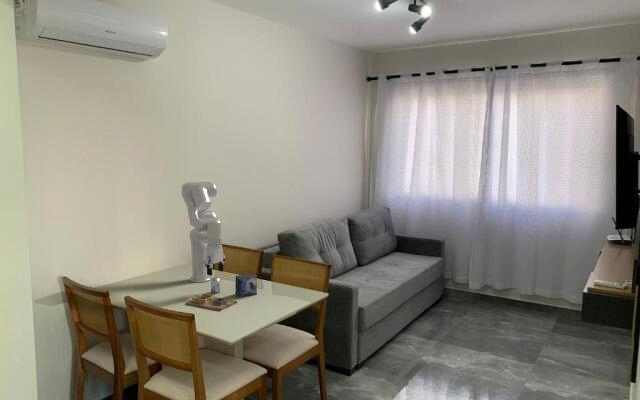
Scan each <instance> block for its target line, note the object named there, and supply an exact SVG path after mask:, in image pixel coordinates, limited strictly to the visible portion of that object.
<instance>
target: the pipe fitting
mask: <svg viewBox="0 0 640 400" xmlns="http://www.w3.org/2000/svg"><path fill="white" fill-rule="evenodd" d="M220 293H221V278H220V277H218V276H217V277H216V276H213V277H211V280H210V294H211V295H218V294H220Z"/></svg>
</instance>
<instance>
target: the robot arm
mask: <svg viewBox="0 0 640 400" xmlns="http://www.w3.org/2000/svg"><path fill="white" fill-rule="evenodd" d="M217 195H218V187H217V186H216V184H215V183H214V182H211V181H191V182H186V183H183V184H182V186H181V196H182V199H183V201H184V203H185V205H186V207H187V214H188V220H189V224H190V226H192V227H193V229H191V230H190V232H189V241H190V247H191V273H192V274H191V275H192V276H191V277H189V281H190V282H192V283H205V282H209V281H211V278H212V276H213V273H214V270H213V265H214V264H217V263H218V264H217V269H218V272H224V264H225V261H226V254H224V250H223V245H222V221H221V220H219V219H218V218H217V216H216V213H215V211H213V210H210V208H211V207H212V202H211V199H210V198H213V197H216V196H217ZM208 209H209V210H208ZM204 244H205V245H206V244H207V245H206V246H205V245H204Z"/></svg>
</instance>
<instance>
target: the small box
mask: <svg viewBox="0 0 640 400" xmlns="http://www.w3.org/2000/svg"><path fill="white" fill-rule="evenodd" d="M234 277H235V292H234V293H235V295H236V296H237V297H238V298H241V297H248V296H257V294H258V286H257V285H258V276H257V275H256V274H254V273H248V274H239V275H234Z"/></svg>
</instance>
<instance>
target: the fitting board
mask: <svg viewBox="0 0 640 400" xmlns="http://www.w3.org/2000/svg"><path fill="white" fill-rule="evenodd" d="M236 304H238V301H237V300H233V299H228V298H224V297H217V296H216V294H208V293H204V292H203V293H200V294H198V295H196V296H193V297H192V298H191V300H189V301H187V302H185V305H187V306H192V307H196V308H202V309H207V310H212V311H218V312H222V311H223V310H225V309H228V308H230V307H232V306H234V305H236Z"/></svg>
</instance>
